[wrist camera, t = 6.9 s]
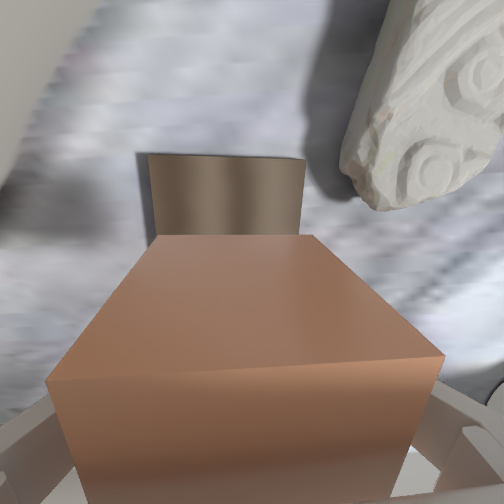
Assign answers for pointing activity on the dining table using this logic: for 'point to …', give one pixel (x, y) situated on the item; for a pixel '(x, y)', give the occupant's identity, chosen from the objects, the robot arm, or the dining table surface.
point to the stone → (427, 102)
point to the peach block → (242, 379)
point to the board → (226, 195)
